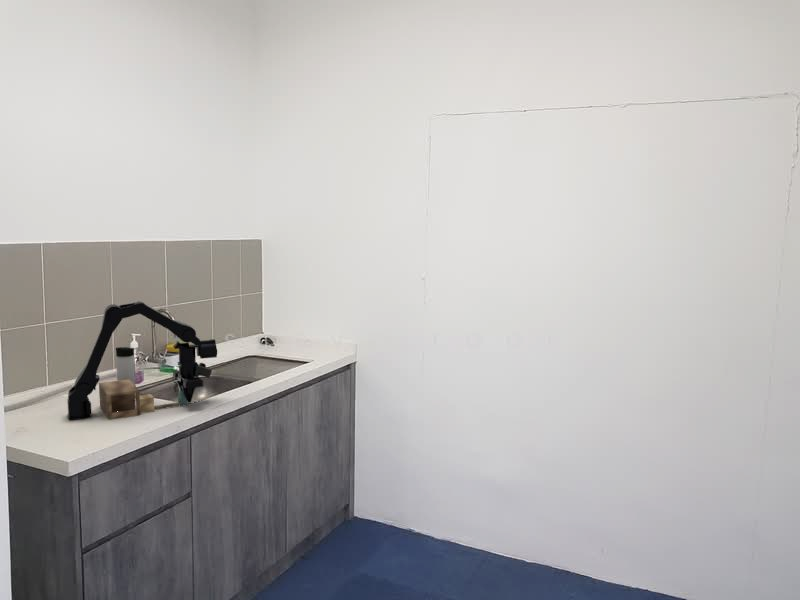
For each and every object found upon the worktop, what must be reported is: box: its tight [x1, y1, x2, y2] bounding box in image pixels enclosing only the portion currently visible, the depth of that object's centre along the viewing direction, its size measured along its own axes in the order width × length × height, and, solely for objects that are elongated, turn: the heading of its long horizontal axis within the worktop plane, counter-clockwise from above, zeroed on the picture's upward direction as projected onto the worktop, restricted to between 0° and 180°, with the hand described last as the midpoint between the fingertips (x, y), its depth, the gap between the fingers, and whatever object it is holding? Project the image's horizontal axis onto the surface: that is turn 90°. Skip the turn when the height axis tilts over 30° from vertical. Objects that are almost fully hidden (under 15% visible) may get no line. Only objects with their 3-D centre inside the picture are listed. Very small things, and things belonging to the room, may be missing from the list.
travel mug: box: [115, 346, 137, 399], centre depth 235 cm, size 6×7×20 cm
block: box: [140, 390, 188, 414], centre depth 225 cm, size 17×5×5 cm, turn 124°
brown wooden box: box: [98, 379, 141, 420], centre depth 221 cm, size 10×18×9 cm, turn 33°
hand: (188, 401), depth 230 cm, fingers closed on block, 2 cm apart
